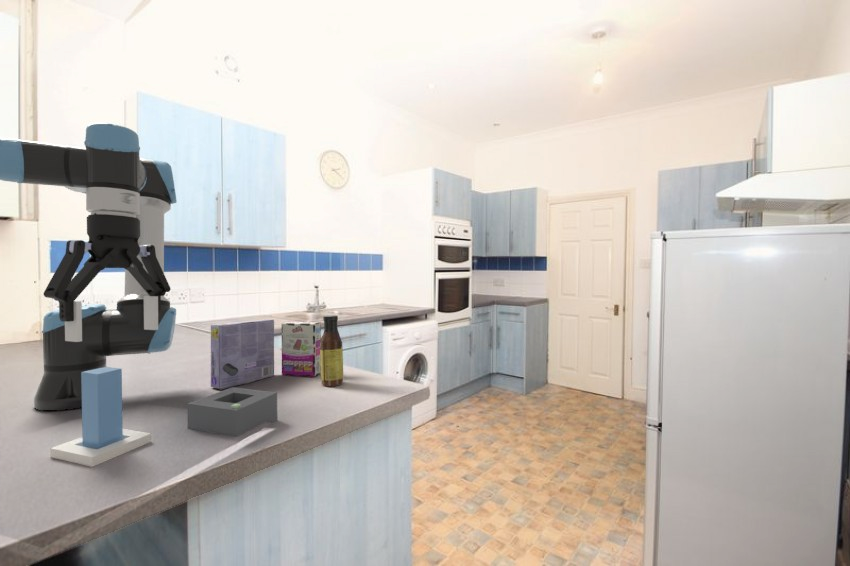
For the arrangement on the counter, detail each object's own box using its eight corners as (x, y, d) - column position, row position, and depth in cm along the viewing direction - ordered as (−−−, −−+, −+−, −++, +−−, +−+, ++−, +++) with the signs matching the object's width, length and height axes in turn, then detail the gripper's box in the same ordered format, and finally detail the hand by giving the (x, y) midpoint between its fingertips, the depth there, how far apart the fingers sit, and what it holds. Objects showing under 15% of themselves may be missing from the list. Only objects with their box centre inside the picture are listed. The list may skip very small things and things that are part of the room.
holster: (50, 462, 68) (50, 448, 68) (112, 439, 78) (112, 426, 78) (92, 472, 65) (92, 457, 65) (151, 446, 75) (150, 433, 75)
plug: (82, 451, 70) (81, 372, 70) (106, 442, 74) (105, 366, 74) (99, 455, 69) (97, 374, 69) (122, 445, 73) (121, 368, 72)
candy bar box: (321, 373, 129) (321, 321, 128) (314, 377, 124) (314, 323, 123) (288, 371, 130) (288, 320, 130) (280, 375, 125) (280, 322, 125)
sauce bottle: (347, 383, 118) (348, 315, 117) (332, 388, 112) (332, 317, 112) (331, 379, 121) (331, 313, 120) (315, 384, 116) (315, 315, 115)
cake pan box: (267, 373, 128) (267, 317, 127) (278, 375, 126) (278, 318, 125) (208, 388, 111) (208, 324, 111) (219, 391, 109) (219, 325, 108)
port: (187, 433, 81) (187, 401, 81) (233, 413, 93) (232, 384, 92) (236, 441, 78) (236, 407, 77) (277, 419, 89) (277, 390, 89)
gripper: (46, 203, 59) (49, 349, 59) (189, 223, 83) (190, 326, 83) (11, 205, 61) (14, 345, 62) (161, 223, 85) (162, 324, 85)
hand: (115, 335), depth 72 cm, fingers open, 13 cm apart
